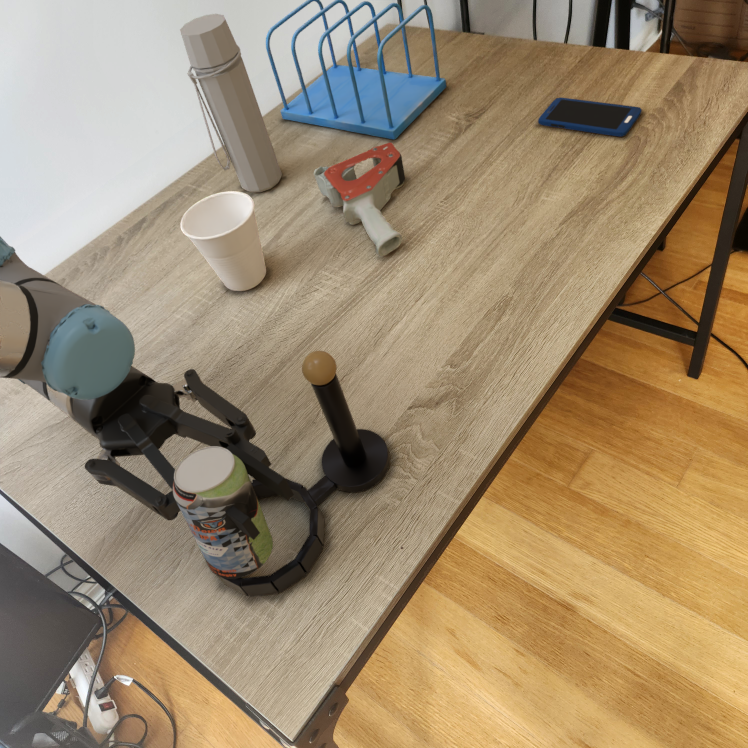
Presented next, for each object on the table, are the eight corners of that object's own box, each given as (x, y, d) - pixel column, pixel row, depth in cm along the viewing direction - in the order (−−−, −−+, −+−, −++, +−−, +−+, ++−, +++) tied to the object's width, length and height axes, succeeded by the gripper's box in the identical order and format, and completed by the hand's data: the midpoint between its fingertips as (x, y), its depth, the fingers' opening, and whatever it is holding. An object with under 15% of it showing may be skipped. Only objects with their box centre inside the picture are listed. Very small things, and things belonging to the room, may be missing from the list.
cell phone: (624, 137, 95) (625, 133, 94) (536, 124, 102) (536, 120, 101) (643, 112, 98) (643, 107, 98) (556, 100, 105) (556, 96, 104)
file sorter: (282, 120, 119) (254, 34, 107) (336, 74, 127) (316, -11, 115) (395, 141, 107) (378, 46, 95) (447, 88, 115) (437, -5, 103)
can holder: (192, 568, 63) (105, 479, 51) (299, 412, 73) (249, 305, 61) (301, 624, 58) (234, 539, 45) (401, 446, 68) (369, 337, 55)
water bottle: (271, 163, 110) (216, 7, 91) (292, 181, 105) (238, 20, 86) (223, 187, 108) (157, 33, 89) (242, 207, 103) (176, 48, 84)
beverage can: (204, 558, 60) (137, 479, 52) (267, 507, 62) (213, 425, 55) (233, 601, 56) (166, 523, 48) (301, 545, 58) (247, 462, 50)
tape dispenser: (395, 270, 88) (445, 177, 98) (389, 241, 84) (442, 146, 94) (285, 249, 95) (342, 163, 104) (274, 221, 90) (335, 134, 100)
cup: (256, 245, 96) (229, 181, 87) (293, 273, 90) (268, 207, 81) (200, 281, 93) (167, 219, 84) (234, 313, 87) (202, 249, 78)
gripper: (182, 364, 70) (343, 459, 58) (59, 476, 63) (213, 610, 51) (152, 315, 65) (323, 409, 53) (13, 432, 58) (173, 571, 46)
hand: (268, 508), depth 52 cm, fingers closed on beverage can, 3 cm apart
